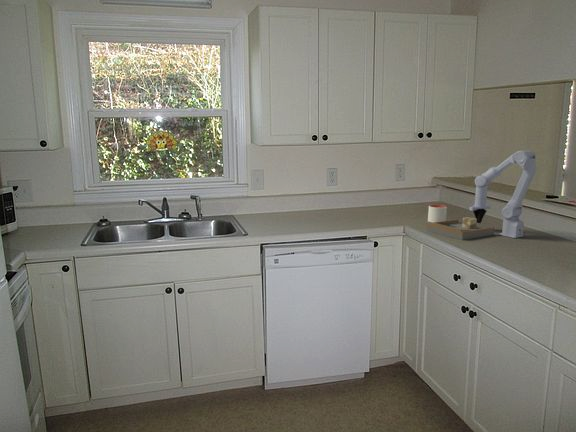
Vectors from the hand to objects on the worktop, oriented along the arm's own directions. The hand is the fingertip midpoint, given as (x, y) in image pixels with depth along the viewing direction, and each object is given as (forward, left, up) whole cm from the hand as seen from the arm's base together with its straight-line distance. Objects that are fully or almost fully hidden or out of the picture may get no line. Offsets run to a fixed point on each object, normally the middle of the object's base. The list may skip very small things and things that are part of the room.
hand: (478, 222), depth 262 cm
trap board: (0, +15, -4) cm, 15 cm away
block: (0, +7, -2) cm, 8 cm away
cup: (+23, +7, -4) cm, 24 cm away
